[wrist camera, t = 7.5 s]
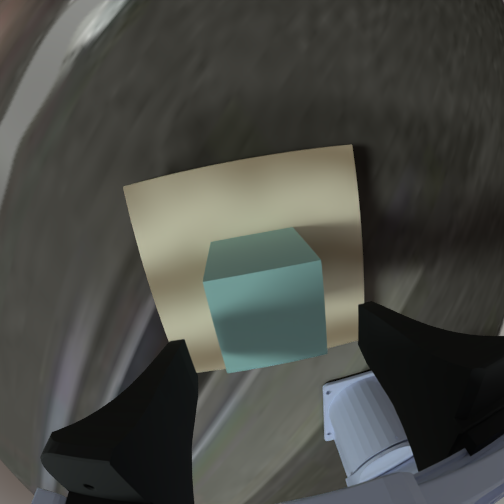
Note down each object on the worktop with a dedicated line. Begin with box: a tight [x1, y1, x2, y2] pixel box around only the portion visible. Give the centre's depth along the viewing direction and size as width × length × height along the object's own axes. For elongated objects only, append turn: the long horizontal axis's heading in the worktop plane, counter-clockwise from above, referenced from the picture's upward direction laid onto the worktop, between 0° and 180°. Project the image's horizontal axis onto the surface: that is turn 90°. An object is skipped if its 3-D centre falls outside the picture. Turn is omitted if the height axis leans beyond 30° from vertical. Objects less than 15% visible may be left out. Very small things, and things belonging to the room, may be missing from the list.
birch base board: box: [123, 145, 364, 373], centre depth 20 cm, size 14×14×2 cm
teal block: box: [203, 227, 327, 373], centre depth 16 cm, size 5×5×6 cm
